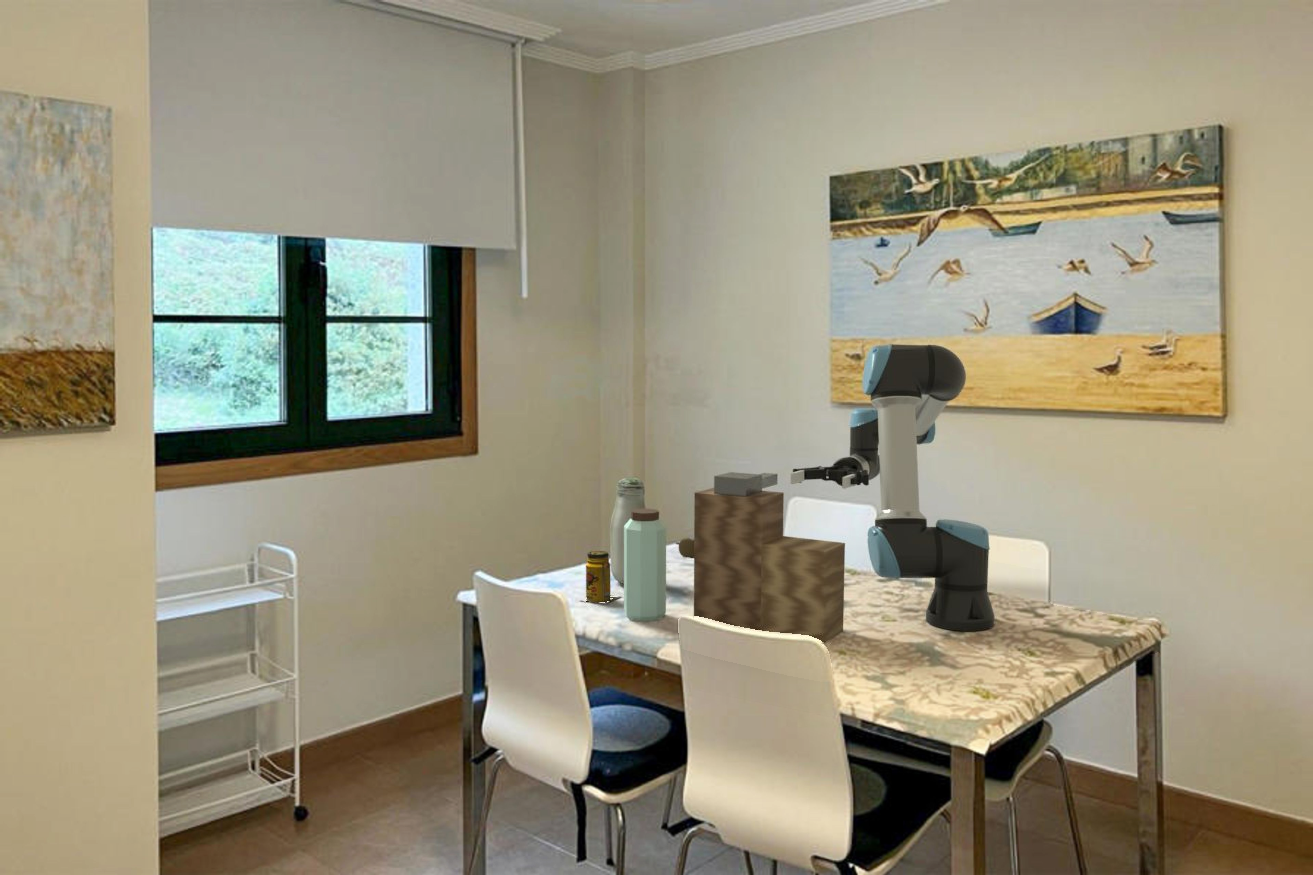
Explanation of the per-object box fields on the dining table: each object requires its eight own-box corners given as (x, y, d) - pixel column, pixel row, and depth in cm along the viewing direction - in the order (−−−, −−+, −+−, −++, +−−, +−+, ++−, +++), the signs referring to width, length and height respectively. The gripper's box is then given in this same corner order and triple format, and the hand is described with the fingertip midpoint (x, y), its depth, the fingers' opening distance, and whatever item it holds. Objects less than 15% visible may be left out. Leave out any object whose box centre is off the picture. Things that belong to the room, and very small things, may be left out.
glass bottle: (621, 589, 282) (621, 481, 279) (604, 581, 291) (604, 476, 288) (655, 585, 286) (655, 479, 284) (637, 577, 295) (637, 474, 292)
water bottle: (661, 623, 250) (662, 515, 247) (619, 621, 252) (618, 513, 249) (669, 612, 259) (670, 508, 257) (628, 609, 261) (628, 506, 259)
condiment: (579, 601, 270) (578, 553, 268) (596, 594, 277) (596, 547, 276) (604, 605, 266) (604, 556, 265) (621, 597, 274) (621, 550, 272)
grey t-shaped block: (785, 485, 260) (786, 468, 260) (745, 496, 242) (746, 478, 242) (755, 482, 264) (755, 466, 264) (714, 493, 246) (714, 476, 246)
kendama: (728, 564, 314) (667, 555, 323) (742, 559, 322) (683, 550, 332) (728, 544, 313) (668, 535, 323) (743, 539, 321) (683, 531, 331)
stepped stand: (843, 631, 244) (845, 498, 241) (823, 643, 234) (826, 505, 231) (716, 611, 260) (717, 486, 257) (693, 622, 251) (694, 492, 248)
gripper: (895, 489, 279) (865, 500, 261) (805, 481, 292) (771, 491, 274) (896, 459, 278) (866, 469, 260) (806, 453, 291) (771, 462, 273)
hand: (817, 480), depth 267 cm, fingers open, 13 cm apart
